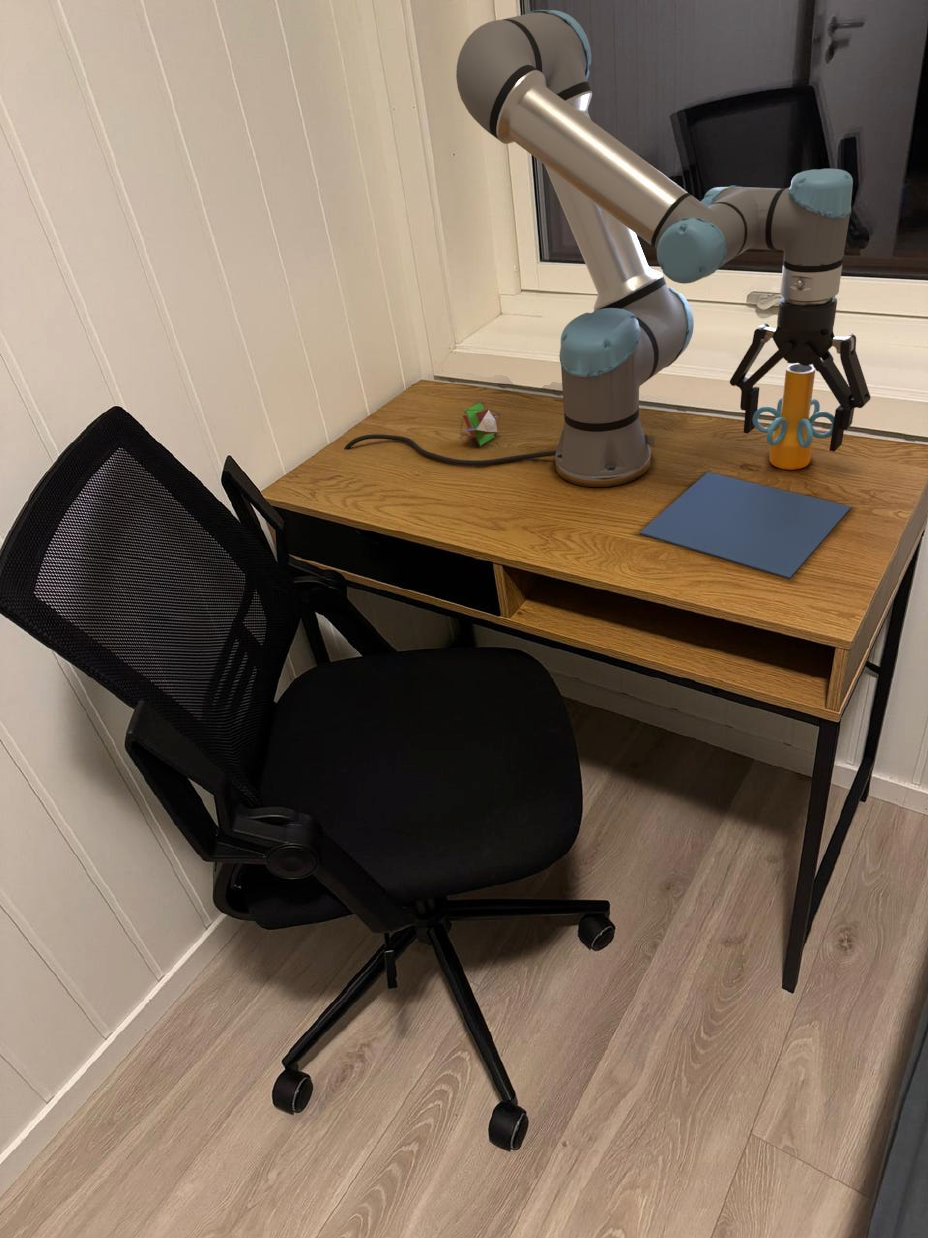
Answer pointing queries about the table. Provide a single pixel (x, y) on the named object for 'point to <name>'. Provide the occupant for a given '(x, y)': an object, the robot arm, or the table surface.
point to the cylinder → (794, 420)
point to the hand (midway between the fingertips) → (791, 438)
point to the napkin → (747, 523)
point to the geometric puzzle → (480, 423)
